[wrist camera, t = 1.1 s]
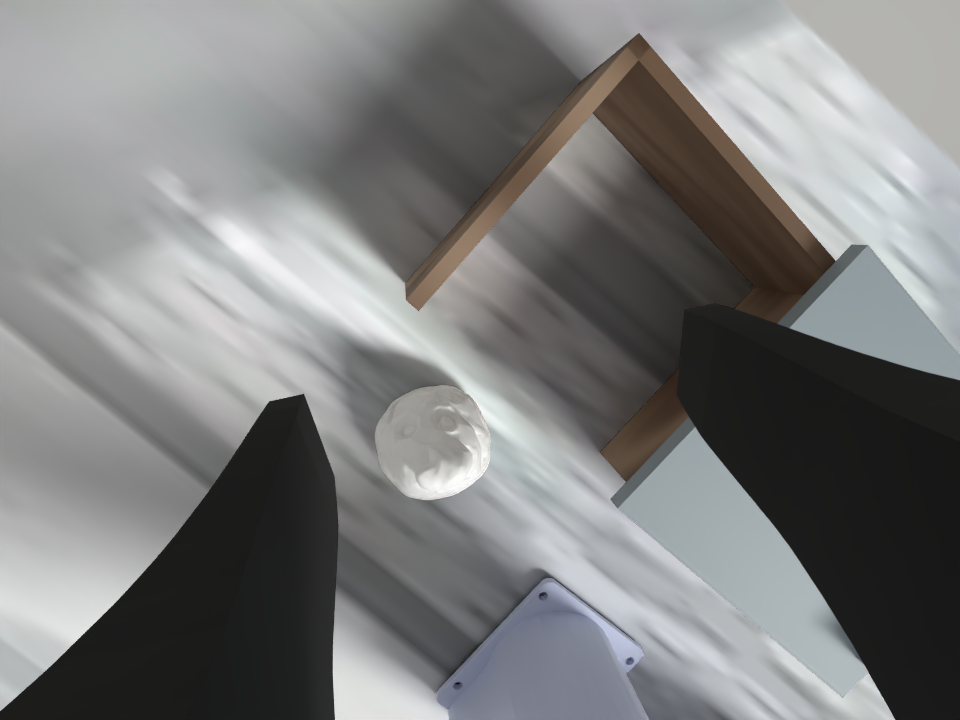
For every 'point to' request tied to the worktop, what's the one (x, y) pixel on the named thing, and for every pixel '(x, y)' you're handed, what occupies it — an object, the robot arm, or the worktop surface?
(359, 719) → the worktop surface
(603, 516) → the worktop surface
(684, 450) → the lid
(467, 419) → the garlic bulb
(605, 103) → the storage box
